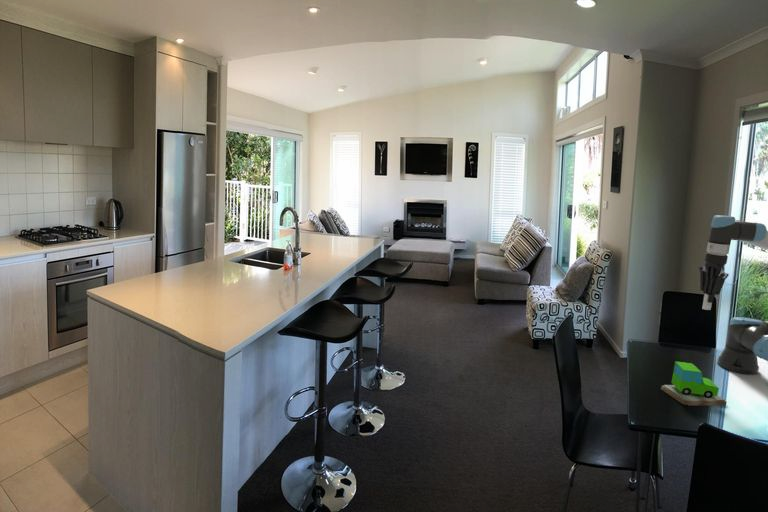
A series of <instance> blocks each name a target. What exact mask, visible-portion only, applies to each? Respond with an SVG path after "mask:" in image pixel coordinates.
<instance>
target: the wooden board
mask: <svg viewBox="0 0 768 512" xmlns="http://www.w3.org/2000/svg"><path fill="white" fill-rule="evenodd" d="M660 390H661V391H663V392H664V393H665V394H667V395H669V396H670V397H671V398H673V399H675V400H676V401H677V402H679V403H681V405H683V404H684V405H688V406H727V401H726V400H725V398H722V397H721V396H719V394H717V396H712V397H711V398H706V397H705V396H704V395H701V394H693V393H690V394H689V395H684V394H683V393H682V392H679V391H678V389H677V388H676V387H675V386H674V385H673V384H664V385H661V387H660ZM684 405H683V406H684Z"/></svg>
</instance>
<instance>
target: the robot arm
mask: <svg viewBox="0 0 768 512" xmlns="http://www.w3.org/2000/svg"><path fill="white" fill-rule="evenodd" d="M732 241H740V242H743V243H745V244H748V245H751V246H754V247H757V248H760V249H764V250H766V251H768V229H767V226H766V225H765V224H764V223H761V222H760V223H759V222H751V221H743V220H738V219H736V217H735V216H732V215H724V214H723V215H721V214H720V215H719V214H717V215H714V216H713V217H712V221H711V224H710V230H709V235H708V240H707V247H706V253H705V257H704V262H705V264H704V266H699V267H698V269H699V273H700V274H699V276H700V281H699V282H700V284H699V285H700V291H702V292H703V297H702V301H703V302H702V308H701V309H702V310H705V311H711V309H712V305H713V302H714V299H715V296H718V295H720V293H721V291H722V288H723V286H724V284H725V282H726V280H727V278H728V277H730V276H729V275H730V274H729V273H728V272H727V273H726V272H725V265H727V263H728V259H729V257H728V255H729V254H730V247H731V243H732ZM758 358H759V359H762V360H764V361H767V362H768V320H763V321H762V320H760V319H755V318H749V317H742V316H739V317H737V316H735V317H732V318H731V319H730V321H729V326H728V332H727V337H726V342H725V345H724V348H723V350H722V352H721V353H720V356H718V358H717V360H716V361H717V362H716V363H717V365H718V366H720V367H722V369H725V370H728V371H731V372H735V373H739V374H743V375H757V374H759V369H760V366H759V363H758V362H759V361H758Z"/></svg>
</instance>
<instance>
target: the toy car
mask: <svg viewBox="0 0 768 512" xmlns="http://www.w3.org/2000/svg"><path fill="white" fill-rule="evenodd" d="M702 373H703V372H702V371H701V370H700V369H699V368H698V367H697V366H696V365H694V364H693V363H692V362H683V361H674V366H673V371H672V376H671V377H672V378H671V385H674V386H675V387H676V388H677V389H678V391H679V392H682V393H683V394H684V395H689V394H690V393H693V394H701V395H704V396H705V397H706V398H711V397H712V396H717V395H719V389H720V388H719V387H718V386H717V384H715V383H714V382H713V381H712V380H711V379H710V378H707V377H703V374H702Z"/></svg>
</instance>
